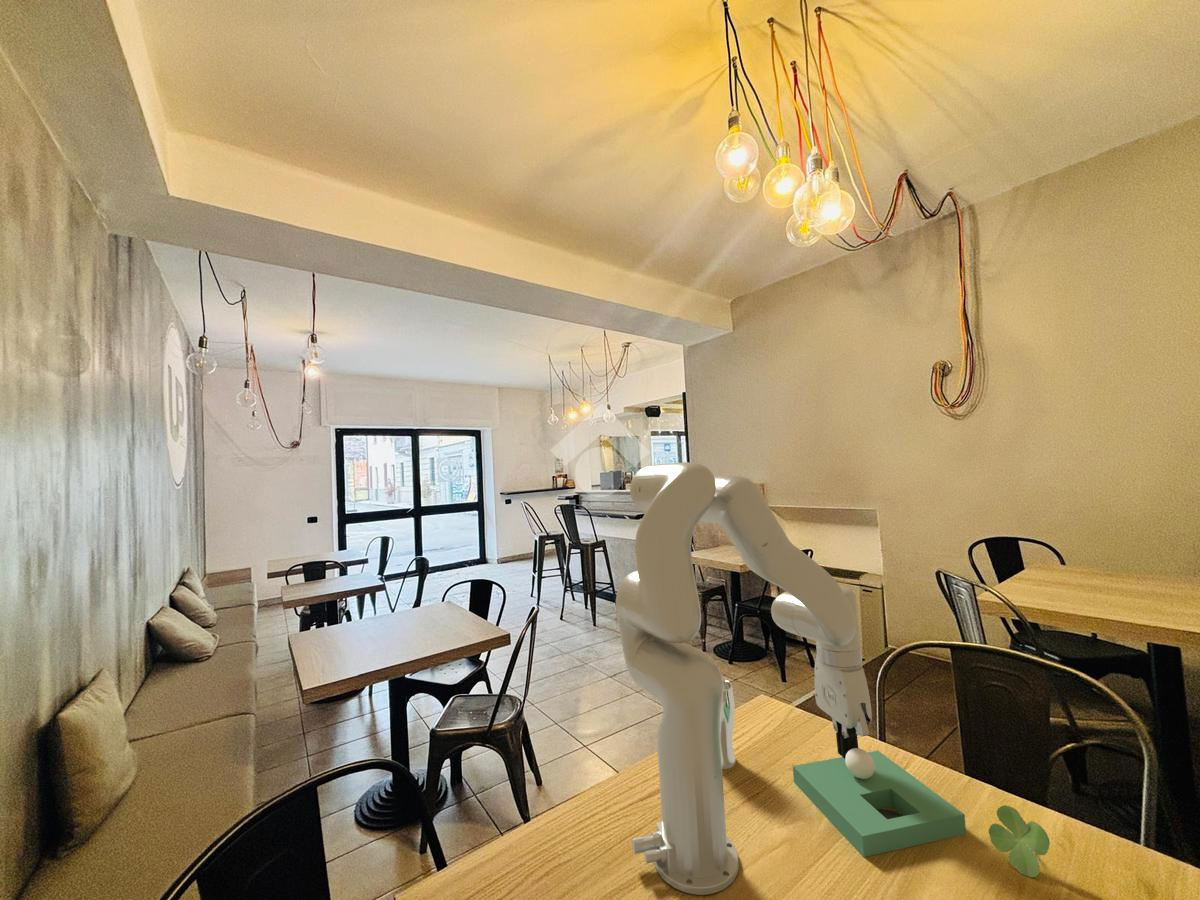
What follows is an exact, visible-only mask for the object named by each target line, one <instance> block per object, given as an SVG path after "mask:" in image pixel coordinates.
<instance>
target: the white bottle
mask: <svg viewBox="0 0 1200 900" xmlns="http://www.w3.org/2000/svg"><path fill="white" fill-rule="evenodd" d="M733 692H734V690H733V684H732V682H730V681H729V680H727V679H725V678H723V698H722V705H721V713H720V747H721V761H722V770H729V769H732V768H733V767H734V766H735V765H736V755H735V751H734V747H733V745H734V743H733V736H734V727H735V726H734V725H735V718H736V717H735V715H736V713H735V712H736V711H735V699H734V698H735V697H734V693H733Z"/></svg>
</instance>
